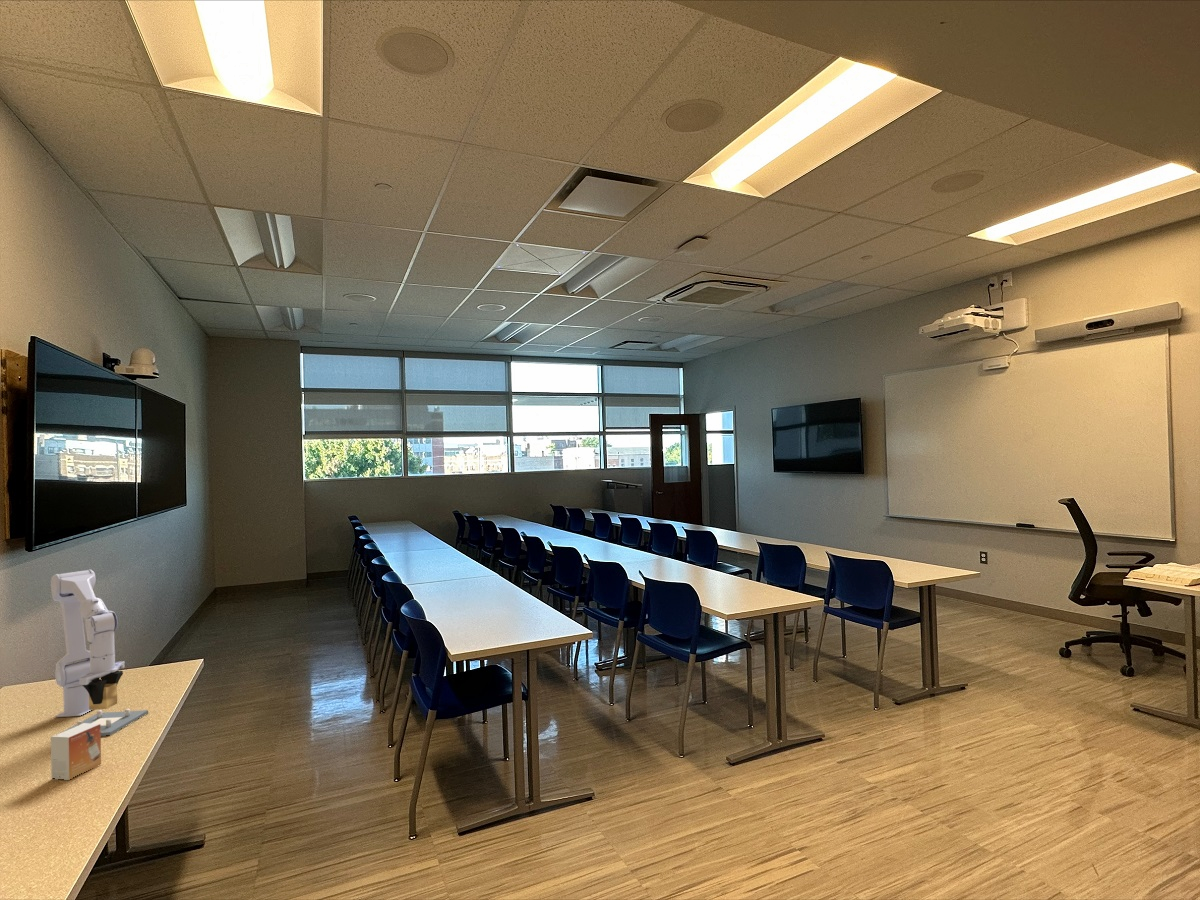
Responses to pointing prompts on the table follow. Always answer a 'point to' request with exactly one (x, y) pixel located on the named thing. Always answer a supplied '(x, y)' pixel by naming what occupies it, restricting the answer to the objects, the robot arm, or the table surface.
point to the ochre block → (106, 698)
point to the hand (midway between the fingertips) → (103, 700)
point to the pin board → (112, 720)
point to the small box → (75, 751)
